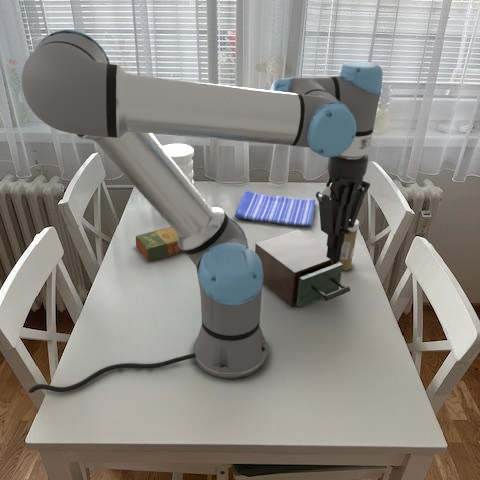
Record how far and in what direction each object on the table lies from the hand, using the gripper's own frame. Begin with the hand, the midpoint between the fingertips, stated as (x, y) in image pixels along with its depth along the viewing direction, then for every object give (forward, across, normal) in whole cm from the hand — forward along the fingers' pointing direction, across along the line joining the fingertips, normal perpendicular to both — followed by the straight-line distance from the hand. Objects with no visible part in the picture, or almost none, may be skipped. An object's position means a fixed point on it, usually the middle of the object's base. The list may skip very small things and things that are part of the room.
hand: (332, 258), depth 109 cm
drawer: (+13, 0, +6) cm, 14 cm away
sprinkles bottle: (+14, +16, +11) cm, 24 cm away
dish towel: (+14, +20, +46) cm, 52 cm away
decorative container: (+13, -4, +66) cm, 68 cm away
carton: (+13, -19, +44) cm, 50 cm away
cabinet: (+13, 0, +12) cm, 18 cm away
